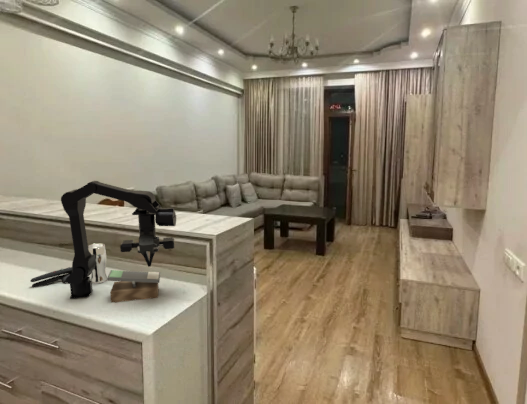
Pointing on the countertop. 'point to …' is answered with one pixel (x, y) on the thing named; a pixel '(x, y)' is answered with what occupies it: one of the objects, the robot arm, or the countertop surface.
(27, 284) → the countertop surface
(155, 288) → the switch base
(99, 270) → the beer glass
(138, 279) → the grey flat panel
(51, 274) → the can opener
